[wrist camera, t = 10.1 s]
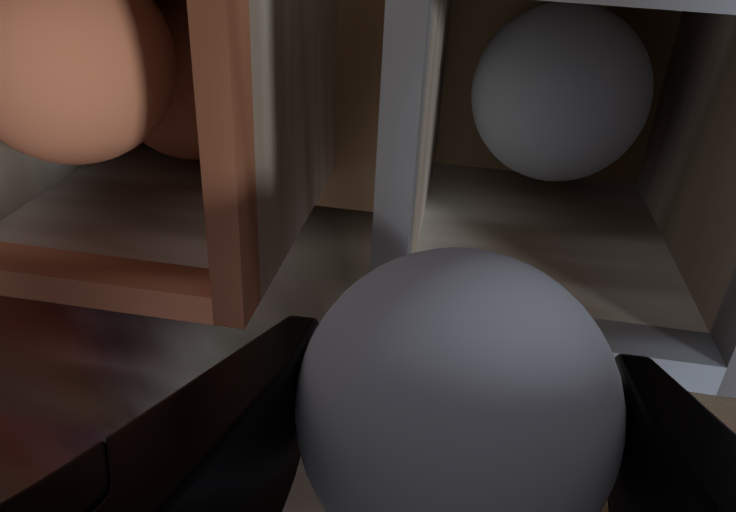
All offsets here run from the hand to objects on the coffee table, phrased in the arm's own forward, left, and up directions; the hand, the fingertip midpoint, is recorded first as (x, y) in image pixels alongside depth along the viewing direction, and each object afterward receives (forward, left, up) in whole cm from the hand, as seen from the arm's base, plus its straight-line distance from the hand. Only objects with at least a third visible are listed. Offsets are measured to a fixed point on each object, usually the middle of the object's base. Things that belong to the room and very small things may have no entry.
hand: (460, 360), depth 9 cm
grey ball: (0, 0, -1) cm, 1 cm away
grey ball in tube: (+2, -2, -10) cm, 10 cm away
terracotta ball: (+1, +7, -6) cm, 9 cm away
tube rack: (+2, +3, -11) cm, 11 cm away
